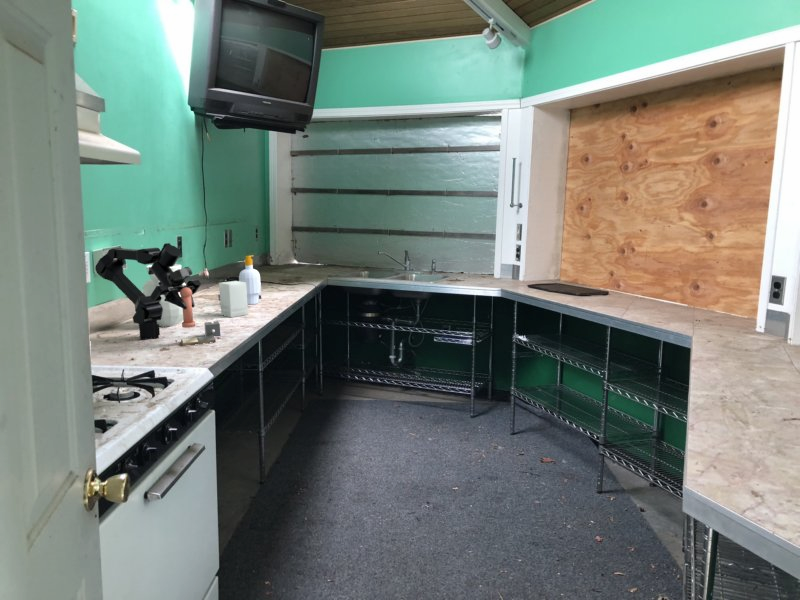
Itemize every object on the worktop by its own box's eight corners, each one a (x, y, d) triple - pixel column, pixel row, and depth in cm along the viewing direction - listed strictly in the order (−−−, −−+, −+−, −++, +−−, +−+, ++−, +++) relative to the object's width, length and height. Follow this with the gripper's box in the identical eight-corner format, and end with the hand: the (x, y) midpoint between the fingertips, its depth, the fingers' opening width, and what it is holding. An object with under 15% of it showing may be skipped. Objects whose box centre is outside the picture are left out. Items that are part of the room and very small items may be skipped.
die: (206, 338, 203) (205, 323, 202) (205, 335, 208) (204, 321, 207) (220, 336, 206) (219, 322, 205) (218, 333, 211) (217, 319, 210)
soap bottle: (266, 302, 275) (263, 255, 271) (250, 306, 266) (247, 257, 262) (251, 301, 280) (248, 254, 276) (236, 304, 272) (233, 256, 268)
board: (182, 346, 192) (182, 343, 192) (181, 341, 199) (180, 338, 198) (215, 342, 197) (215, 339, 196) (213, 338, 203) (212, 335, 203)
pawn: (181, 328, 193) (178, 288, 190) (182, 325, 197) (179, 286, 194) (194, 327, 194) (191, 288, 191) (195, 324, 198) (192, 286, 196)
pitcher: (182, 328, 220) (176, 267, 215) (136, 329, 220) (130, 268, 215) (198, 319, 238) (194, 262, 234) (156, 319, 238) (151, 263, 234)
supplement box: (249, 314, 246) (246, 282, 244) (231, 317, 240) (228, 284, 237) (238, 312, 252) (236, 280, 250) (220, 315, 246) (218, 282, 243)
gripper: (153, 263, 185) (179, 297, 182) (195, 257, 201) (220, 289, 198) (139, 284, 189) (164, 318, 187) (182, 277, 206) (205, 308, 203)
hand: (190, 307), depth 194 cm, fingers closed on pawn, 3 cm apart
